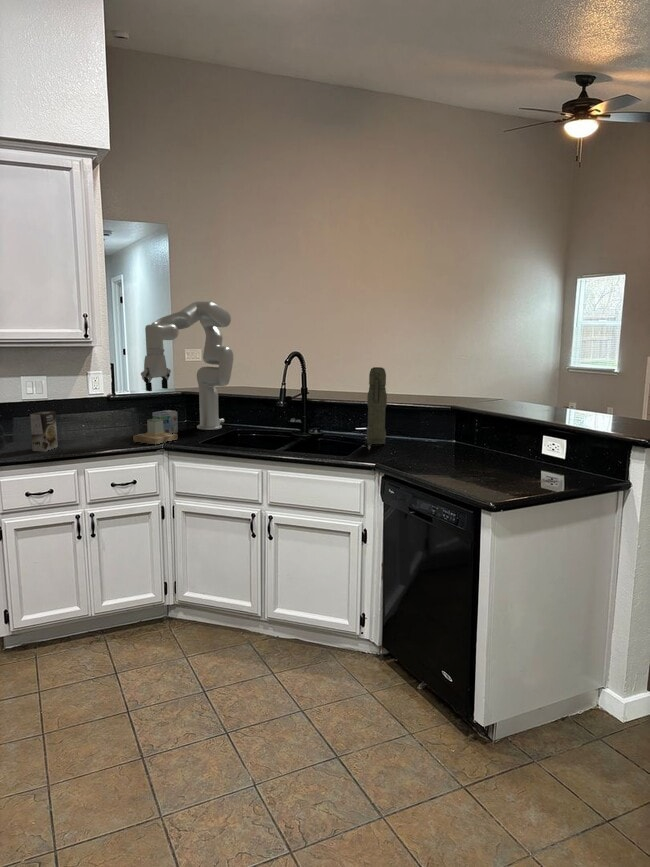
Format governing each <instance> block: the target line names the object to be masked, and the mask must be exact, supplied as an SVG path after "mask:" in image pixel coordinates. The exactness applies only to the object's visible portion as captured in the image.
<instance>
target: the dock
mask: <svg viewBox="0 0 650 867" xmlns="http://www.w3.org/2000/svg"><path fill="white" fill-rule="evenodd" d="M146 433H147V432H146ZM146 433H140V434H139V433H138V434H135V435H132V437H133V438H132V439H133V442H134V441H135V442H134V443H136V442H141V443H140V444H142V443H147V444H146V445H148V444H155V445H156V444H160V443H163V442H167V441H172V440H177V439H178V438H179V436H178V433H173V434H172V433H166V432H165V435H161V436H156V437H154V436H148V435H146ZM178 440H179V439H178ZM160 445H161V444H160ZM156 446H157V445H156Z"/></svg>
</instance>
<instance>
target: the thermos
mask: <svg viewBox="0 0 650 867" xmlns="http://www.w3.org/2000/svg"><path fill="white" fill-rule="evenodd" d="M368 376H369V378H368V385H369V388H368V392H367V397H366V398H367V399H366V400H367V405H366V406H367V408H368V409H367V428H366V438H365V439H366V444H367V443H368V444H367V445H369V444H384V445H386V439H387V430H386V408H387V404H388V403H387V401H388V400H387V398H388V394H387V390H386V385H387V384H386V383H387V381H386V380H387V374H386V370H385V368H384V367H382V366H381V367H380V366H379V367H374V366H373V367H371V368H370V371H369V375H368Z"/></svg>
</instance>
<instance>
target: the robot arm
mask: <svg viewBox="0 0 650 867" xmlns="http://www.w3.org/2000/svg"><path fill="white" fill-rule="evenodd" d="M231 316H232V315H231V314H230V313H229V311H228V310H226V309H225V308H224V307H222V306H220V305H218V304H216V303H215V302H213V301H194V302H191V303H190V304H189V305H187V306H185V307H184V308H182V309H181V310H179V311H177V312H175V313H172V314H169V315H166V316H163V317H160V318H158V319H156V320H155V321H153V322H152V323H151V324H147V325H145V328H144V329H145V330H144V331H145V332H144V333H145V351H146V355H144V360H143V365H144V366H143V371H141V373H140V376H141V378H142V380H143V382H144V383H145V391H146V392H152V391H153V385H152V382H151V381H152V380H153V379H154V378H155V379H157V378H161V388H162V389H163V390H164V389H165V390H167V389H169V385H168V380H169V378H170V376H171V371H172V369H170V368H168V366H167V360H166V355H165V354H164V353H165V348H164V341H173V340H175V339H177V337H178V336H179V333H180V332H179V330H185V329H187V328H191V327H192V326H193V325H194V324H195V323H197V322H198V321H199V323H200V324H201V326H202V328H203V330H204V332H205V342H204V348H203V353H202V361H203V362H204V363H205V364H208V365H211V366H202V367H200V368H199V369H198V370H197V373H196V381H197V385H198V396H199V397H198V400H199V424H198V425H197V426H196V428H197V429H198V430H201V431H202V430H203V431H211V430H212V431H215V430H220V429H222V428H223V427H222V426H223V425H222V424H221V423H224V422H225V419H224V418H219V392H218V389H217V387H226V386H227V385H228V384H229V383H230V380H231V377H232V369H233V365H234V364H233V363H234V352H233V350H232V348H231V347H229V346H225V345H223V339H224V338H223V334H222V332H221V329H220V328H227V327H229V326H230V324H231V321H232V317H231ZM212 365H214V366H212Z"/></svg>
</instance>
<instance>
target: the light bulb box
mask: <svg viewBox="0 0 650 867" xmlns="http://www.w3.org/2000/svg"><path fill="white" fill-rule="evenodd" d="M151 417H152V419H154V418H157V419H163V430H164V432H166V433H173V434H178V432H179V428H178V426H179V425H178V422H179V421H178V411H176V410H170V409H168V410H167V409H166V410H162V411H161V410H160V411H155V412H154V411H153V412H152V416H151Z"/></svg>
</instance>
